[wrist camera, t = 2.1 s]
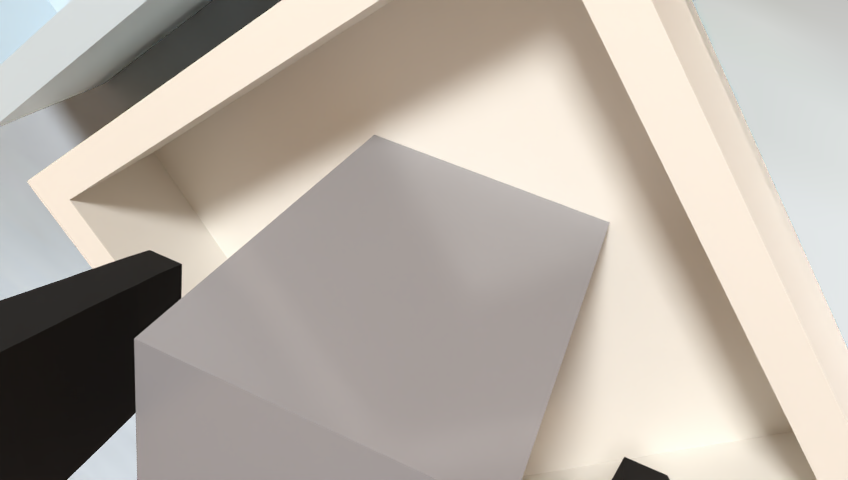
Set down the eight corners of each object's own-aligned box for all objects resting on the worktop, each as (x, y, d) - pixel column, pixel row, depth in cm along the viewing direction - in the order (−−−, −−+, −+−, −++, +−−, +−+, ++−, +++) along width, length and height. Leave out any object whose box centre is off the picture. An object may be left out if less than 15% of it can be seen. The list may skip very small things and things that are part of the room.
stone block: (609, 222, 13) (510, 513, 7) (534, 401, 15) (420, 715, 10) (373, 134, 13) (134, 338, 8) (339, 317, 16) (138, 564, 11)
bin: (882, 425, 13) (912, 562, 11) (395, 503, 19) (345, 603, 17) (604, -195, 10) (559, -198, 8) (134, 126, 16) (27, 181, 14)
